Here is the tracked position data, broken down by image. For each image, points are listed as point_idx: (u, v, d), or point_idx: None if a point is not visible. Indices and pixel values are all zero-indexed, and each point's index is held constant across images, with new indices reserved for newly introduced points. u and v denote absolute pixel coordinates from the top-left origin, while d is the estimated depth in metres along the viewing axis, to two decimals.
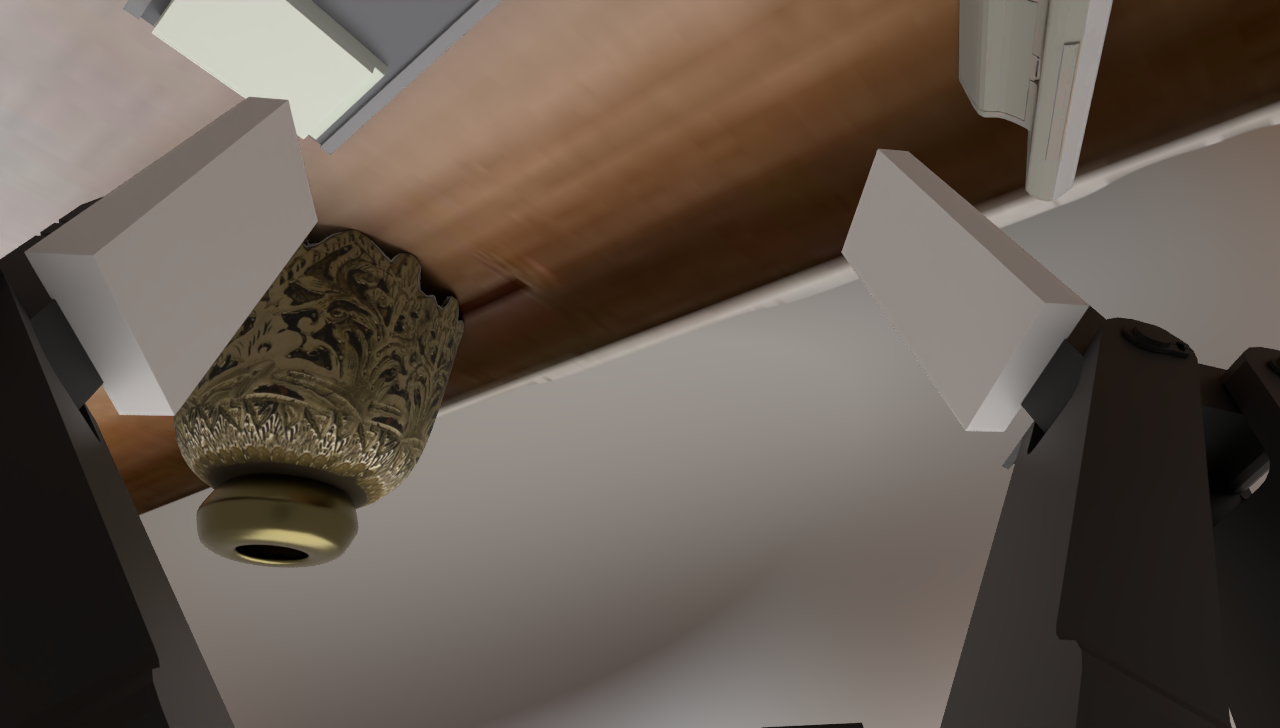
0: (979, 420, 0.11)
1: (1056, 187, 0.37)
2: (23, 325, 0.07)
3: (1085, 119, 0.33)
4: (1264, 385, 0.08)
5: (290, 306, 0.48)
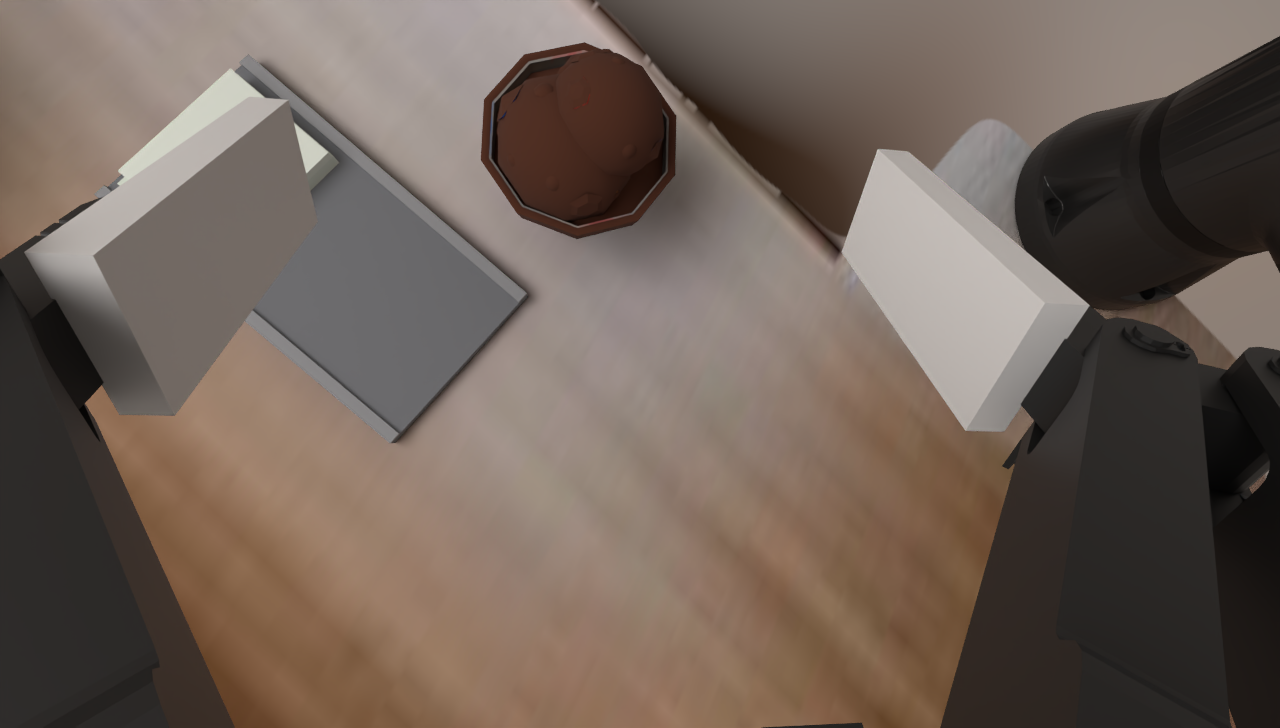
0: (980, 421, 0.11)
1: None
2: (23, 325, 0.07)
3: None
4: (1264, 385, 0.08)
5: None
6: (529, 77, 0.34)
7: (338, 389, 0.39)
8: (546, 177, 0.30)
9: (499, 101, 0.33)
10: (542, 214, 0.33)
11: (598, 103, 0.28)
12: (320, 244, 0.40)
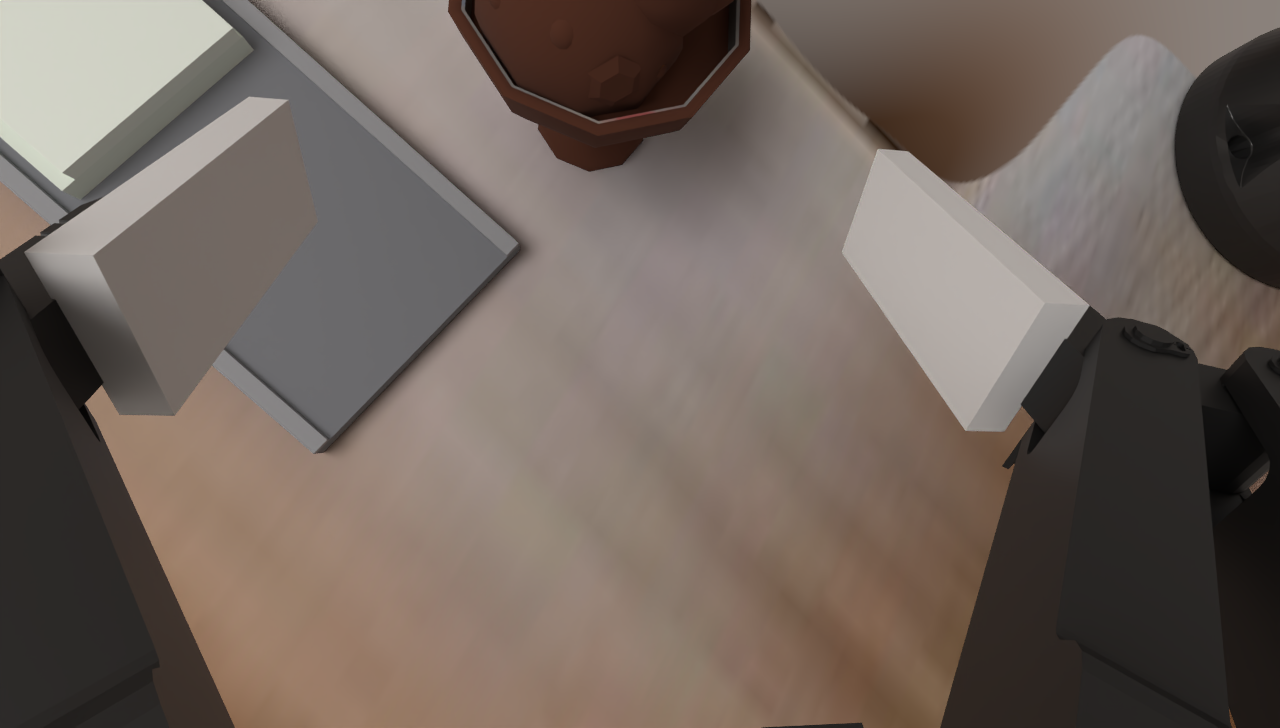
0: (979, 420, 0.11)
1: None
2: (23, 325, 0.07)
3: None
4: (1264, 384, 0.08)
5: None
6: None
7: (239, 373, 0.26)
8: (552, 23, 0.18)
9: None
10: (543, 100, 0.21)
11: None
12: None
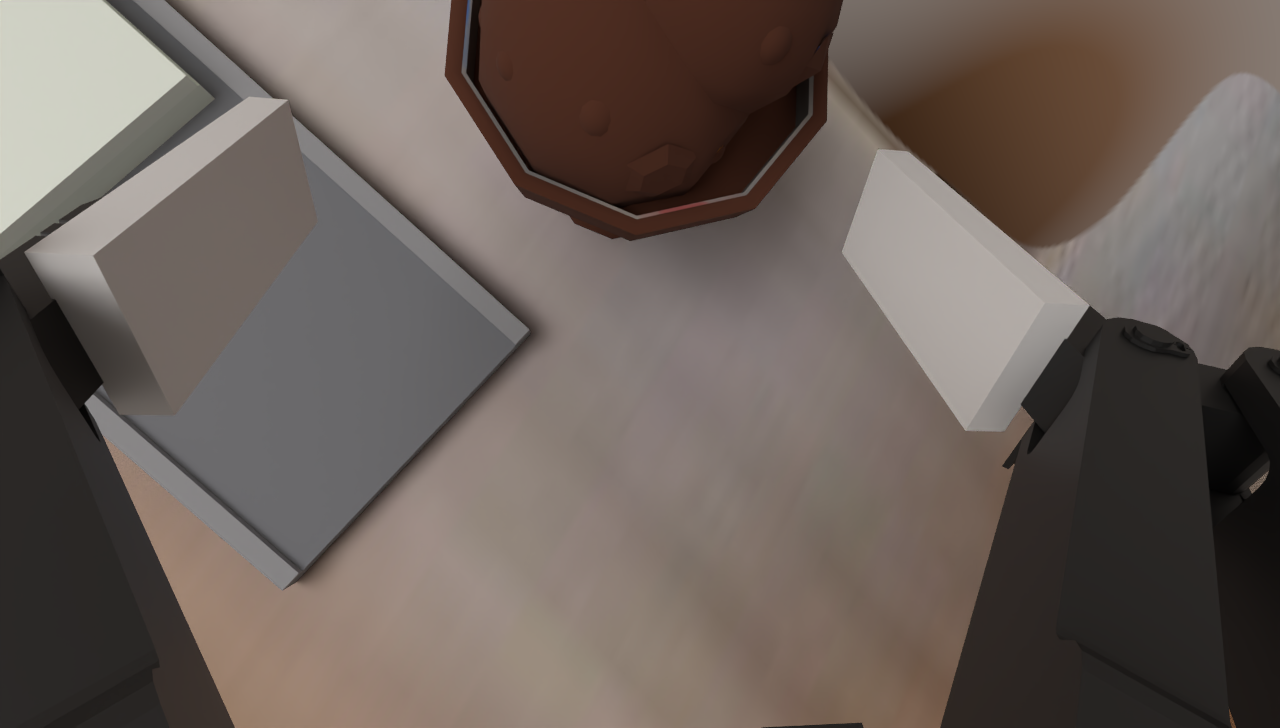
0: (979, 420, 0.11)
1: None
2: (23, 325, 0.07)
3: None
4: (1264, 385, 0.08)
5: None
6: None
7: (193, 494, 0.22)
8: (583, 104, 0.14)
9: None
10: (567, 189, 0.16)
11: None
12: None
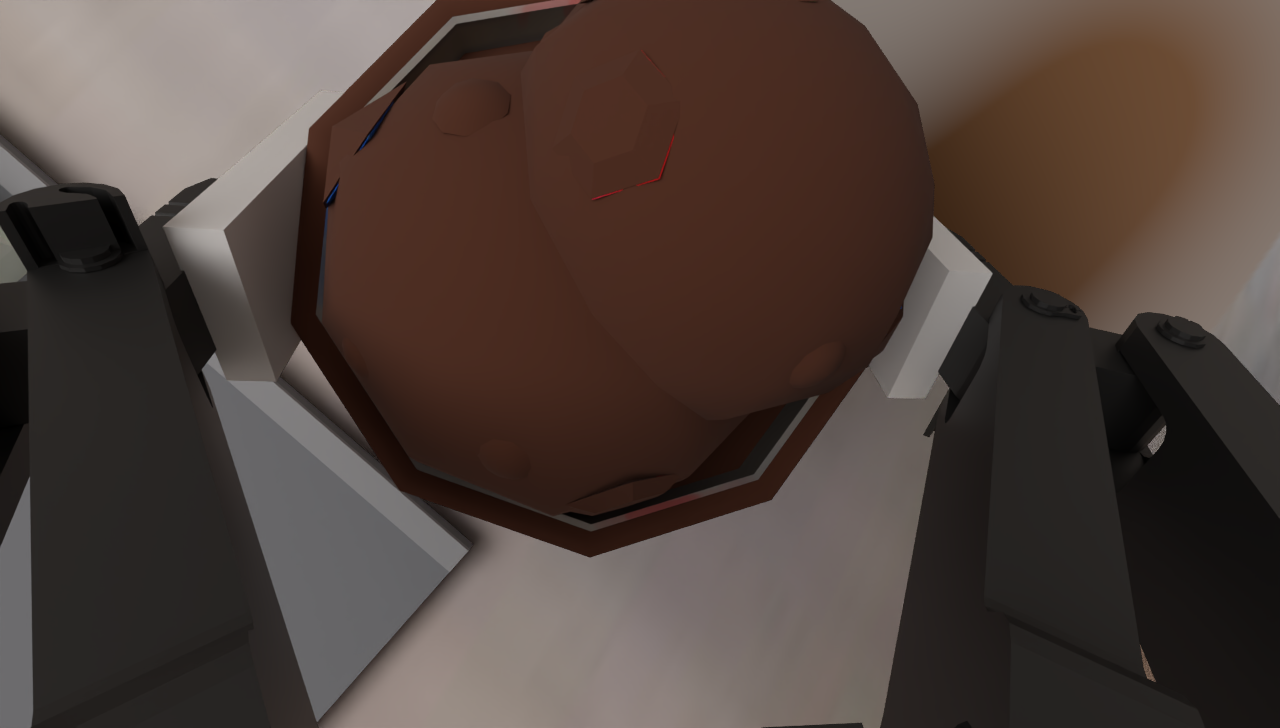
0: (900, 388, 0.11)
1: None
2: (160, 296, 0.07)
3: None
4: (1155, 349, 0.09)
5: None
6: None
7: None
8: (483, 439, 0.08)
9: None
10: (482, 492, 0.10)
11: (716, 182, 0.06)
12: None
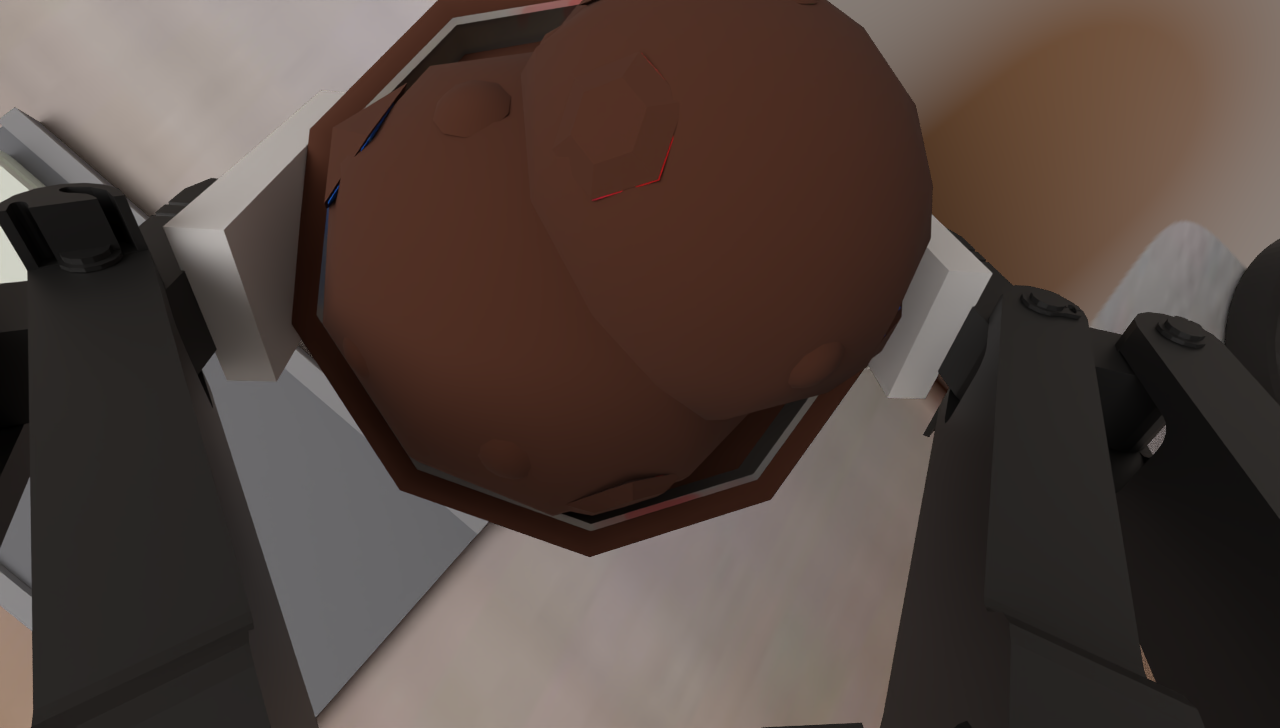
0: (899, 388, 0.11)
1: None
2: (161, 296, 0.07)
3: None
4: (1155, 350, 0.09)
5: None
6: None
7: None
8: (483, 439, 0.08)
9: None
10: (482, 492, 0.10)
11: (715, 181, 0.06)
12: None
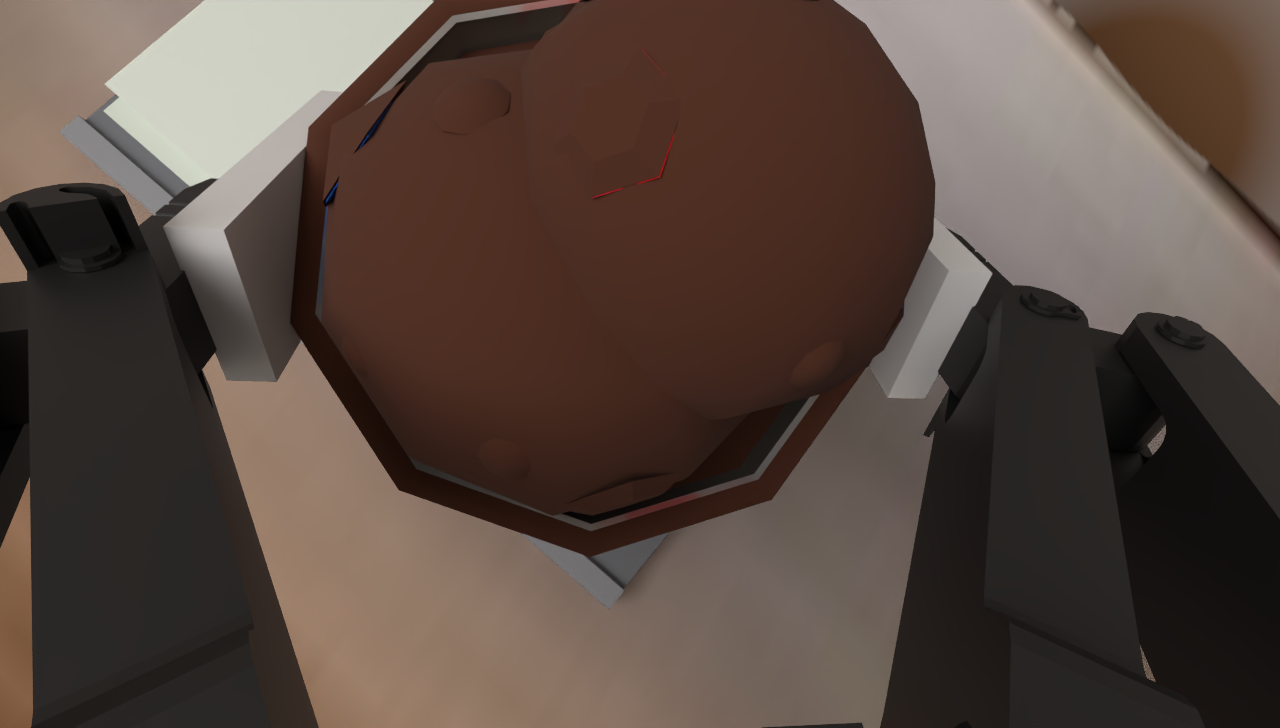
0: (900, 388, 0.11)
1: None
2: (161, 296, 0.07)
3: None
4: (1155, 349, 0.09)
5: None
6: None
7: None
8: (482, 439, 0.08)
9: None
10: (481, 491, 0.10)
11: (716, 179, 0.06)
12: None
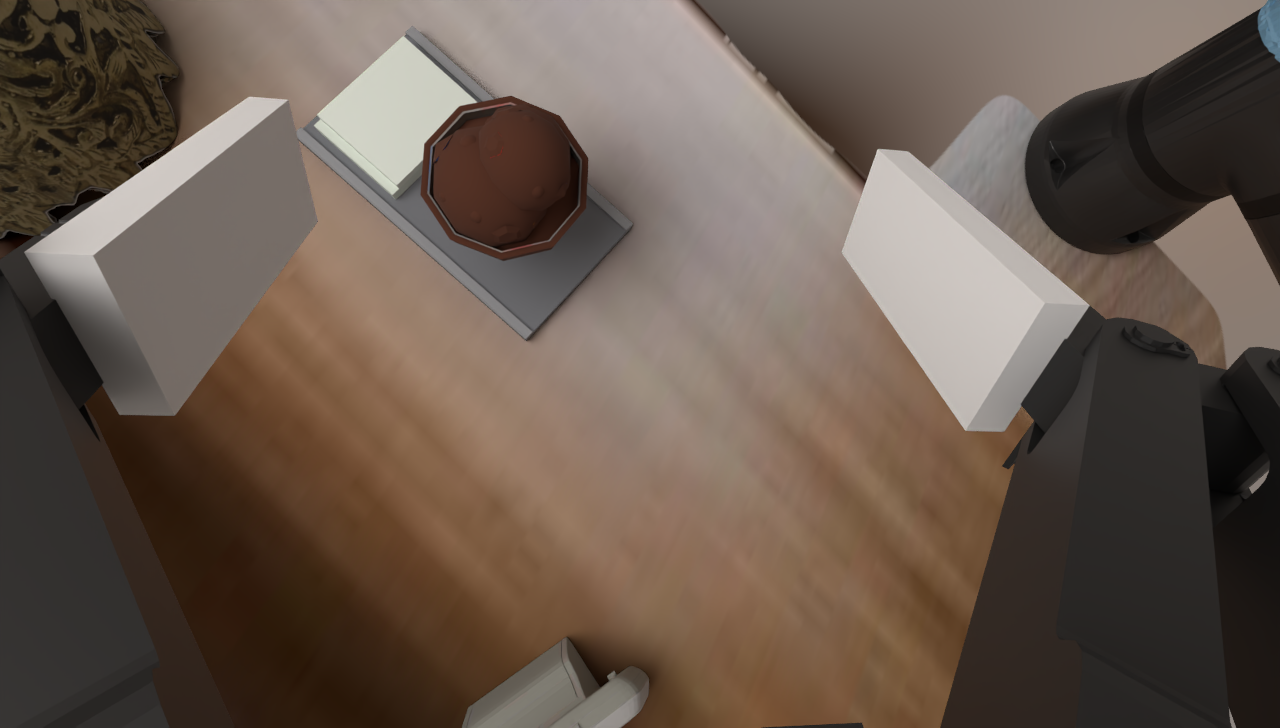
0: (979, 420, 0.11)
1: None
2: (23, 325, 0.07)
3: None
4: (1264, 384, 0.08)
5: (89, 27, 0.39)
6: (464, 124, 0.41)
7: (485, 295, 0.48)
8: (471, 212, 0.36)
9: None
10: (471, 241, 0.39)
11: (510, 154, 0.34)
12: None
